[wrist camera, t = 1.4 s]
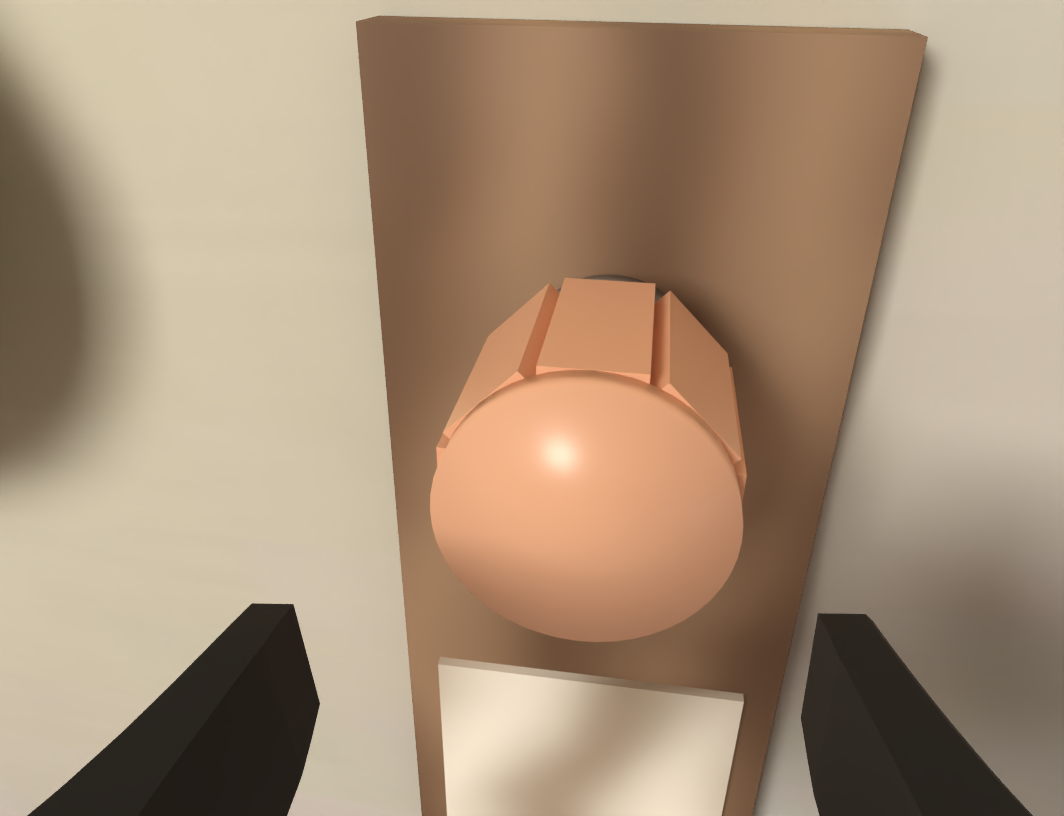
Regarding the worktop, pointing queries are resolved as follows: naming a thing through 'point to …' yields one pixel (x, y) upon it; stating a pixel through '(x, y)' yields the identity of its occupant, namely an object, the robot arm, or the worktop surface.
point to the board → (673, 265)
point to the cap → (593, 465)
